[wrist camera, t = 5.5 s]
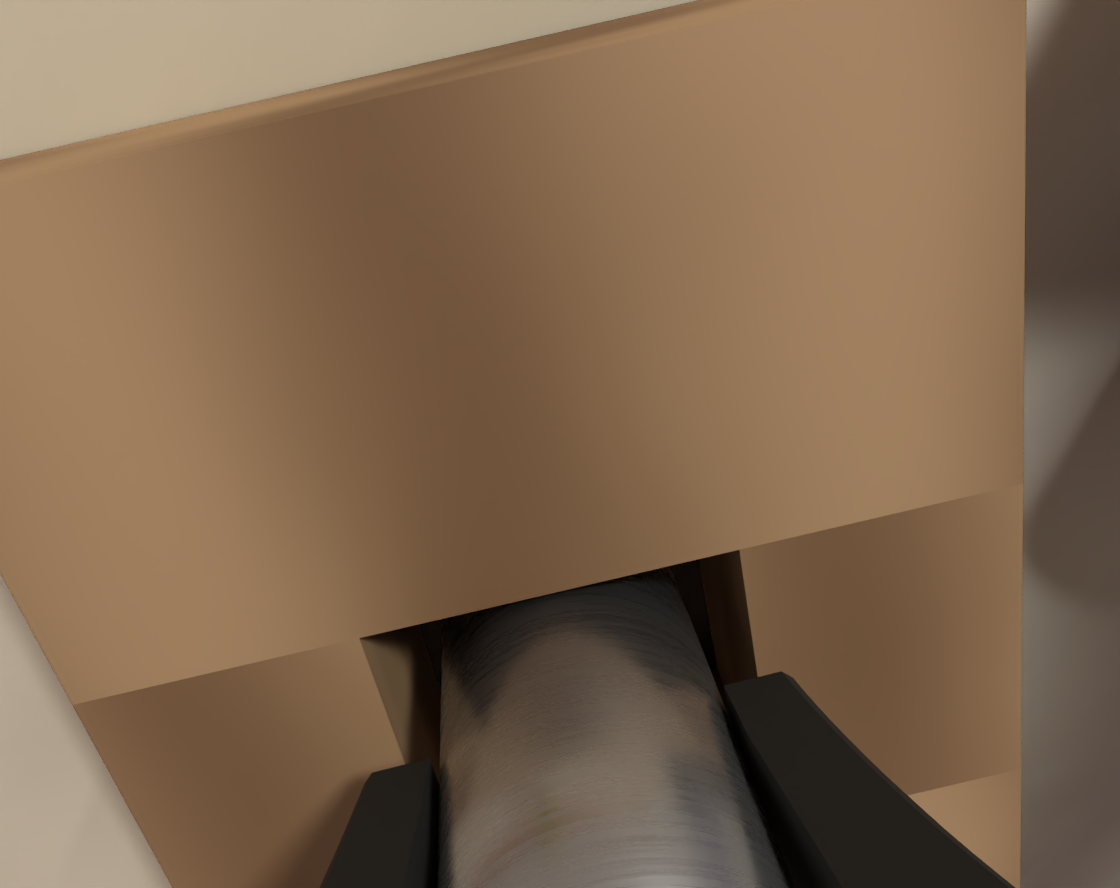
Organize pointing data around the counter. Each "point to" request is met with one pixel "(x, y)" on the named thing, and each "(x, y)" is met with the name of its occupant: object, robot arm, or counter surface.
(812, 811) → the robot arm
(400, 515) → the hole block
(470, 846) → the pin tall
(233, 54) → the counter surface
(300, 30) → the counter surface
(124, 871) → the counter surface
